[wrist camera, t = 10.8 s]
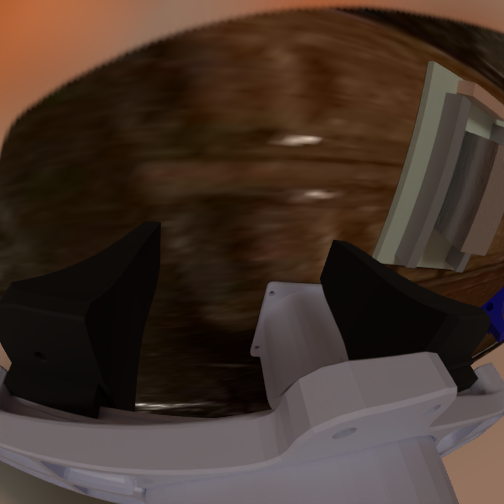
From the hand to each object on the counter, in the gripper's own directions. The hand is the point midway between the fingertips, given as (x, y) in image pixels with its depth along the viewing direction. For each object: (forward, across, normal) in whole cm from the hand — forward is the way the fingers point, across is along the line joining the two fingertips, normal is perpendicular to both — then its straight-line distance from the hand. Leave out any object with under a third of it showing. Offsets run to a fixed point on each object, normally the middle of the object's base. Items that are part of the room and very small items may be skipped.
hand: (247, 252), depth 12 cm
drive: (+9, -19, -4) cm, 21 cm away
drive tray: (+9, -19, -4) cm, 22 cm away
